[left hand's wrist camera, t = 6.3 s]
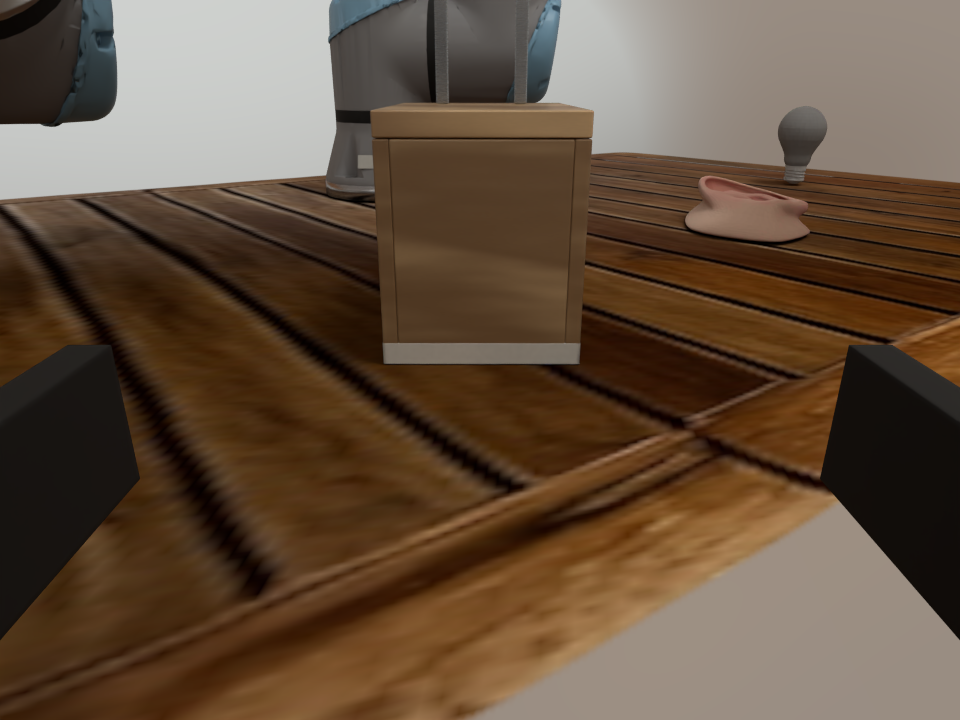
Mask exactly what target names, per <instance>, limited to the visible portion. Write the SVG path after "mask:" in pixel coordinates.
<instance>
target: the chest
mask: <svg viewBox="0 0 960 720" xmlns="http://www.w3.org/2000/svg"><path fill="white" fill-rule="evenodd" d="M591 151H592V140H591V139H589V138H374V139H372V153H373V171H374V189H375V207H376V225H377V243H378V260H379V278H380V296H381V314H382V332H383V357H384V364H579V358H580V335H581V318H582V301H583V285H584V268H585V251H586V235H587V218H588V202H589V185H590V168H591Z"/></svg>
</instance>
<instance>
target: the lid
mask: <svg viewBox="0 0 960 720" xmlns="http://www.w3.org/2000/svg"><path fill="white" fill-rule="evenodd" d="M434 16H435V63H436V103H401V104H397V105H392V106H388V107H384V108H379V109H375V110H371V111H370V117H371V135H372V137H373V138H592V134H593V117H594V111H592V110H588V109H583V108H579V107H574V106H570V105H565V104H561V103H527V69H528V29H529V0H516V26H515V80H514V103H449V74H448V8H447V0H434Z"/></svg>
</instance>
